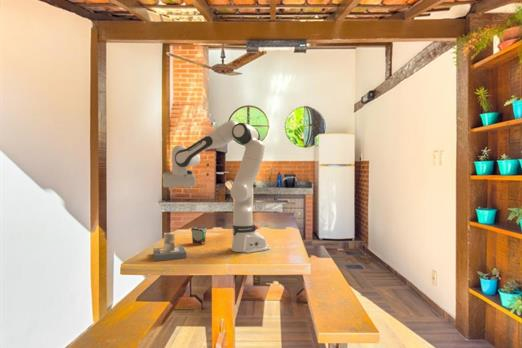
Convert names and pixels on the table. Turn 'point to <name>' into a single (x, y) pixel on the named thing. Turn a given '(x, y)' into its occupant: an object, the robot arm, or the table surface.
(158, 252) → the base block
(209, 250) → the table surface
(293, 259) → the table surface
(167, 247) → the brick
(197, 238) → the food container
